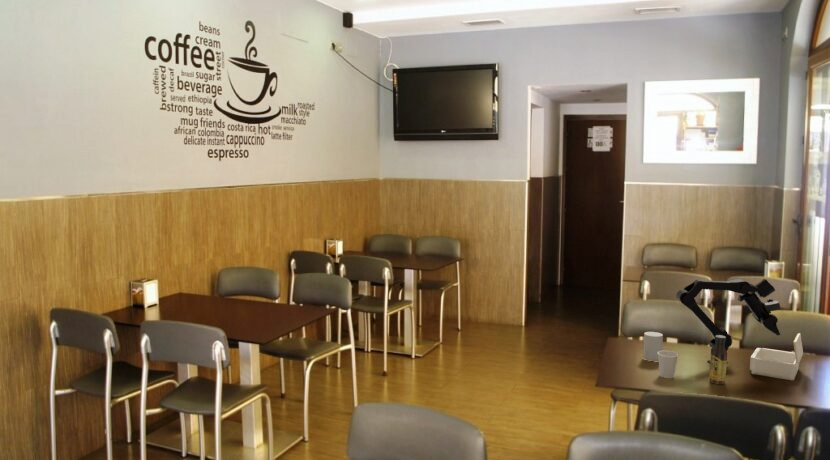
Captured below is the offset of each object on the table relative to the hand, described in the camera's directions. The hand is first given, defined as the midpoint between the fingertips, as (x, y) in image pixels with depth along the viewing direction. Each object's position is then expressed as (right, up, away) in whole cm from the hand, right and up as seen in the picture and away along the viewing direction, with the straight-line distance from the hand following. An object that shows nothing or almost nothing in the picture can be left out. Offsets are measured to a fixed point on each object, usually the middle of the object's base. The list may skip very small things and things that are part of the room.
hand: (776, 332), depth 304 cm
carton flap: (+2, -5, -12) cm, 13 cm away
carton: (-4, -16, -7) cm, 18 cm away
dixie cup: (-53, -17, -13) cm, 57 cm away
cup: (-51, -14, +11) cm, 54 cm away
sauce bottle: (-35, -18, -21) cm, 45 cm away
